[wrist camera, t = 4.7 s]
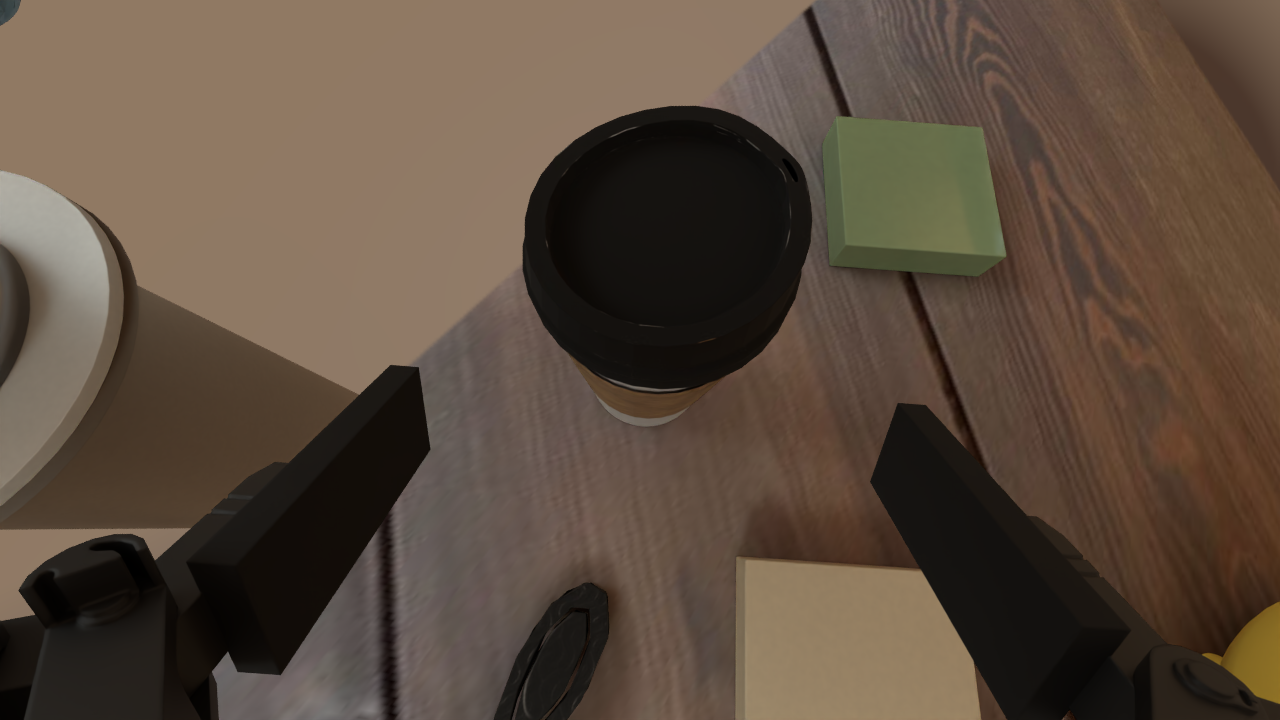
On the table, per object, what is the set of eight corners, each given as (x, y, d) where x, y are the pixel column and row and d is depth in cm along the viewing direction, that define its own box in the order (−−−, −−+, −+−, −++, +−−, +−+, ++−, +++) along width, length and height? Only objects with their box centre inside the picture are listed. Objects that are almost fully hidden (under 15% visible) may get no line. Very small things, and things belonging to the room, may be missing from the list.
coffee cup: (747, 416, 27) (887, 293, 13) (599, 475, 26) (568, 412, 11) (686, 284, 29) (745, 54, 15) (547, 332, 28) (468, 132, 14)
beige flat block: (734, 749, 22) (745, 770, 20) (735, 555, 25) (745, 558, 23) (959, 764, 22) (990, 786, 20) (937, 569, 25) (963, 573, 23)
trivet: (829, 266, 30) (845, 244, 28) (821, 144, 33) (836, 115, 30) (978, 277, 30) (1007, 256, 28) (958, 154, 33) (983, 126, 30)
